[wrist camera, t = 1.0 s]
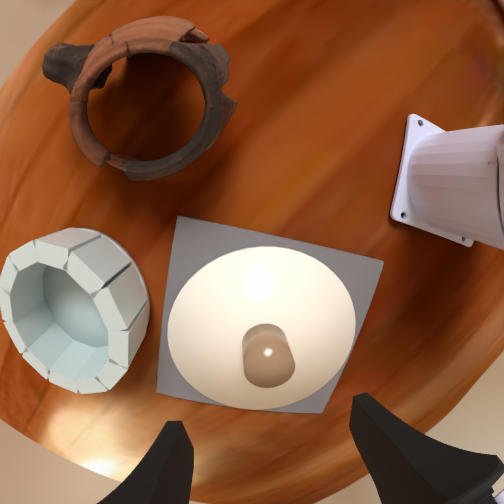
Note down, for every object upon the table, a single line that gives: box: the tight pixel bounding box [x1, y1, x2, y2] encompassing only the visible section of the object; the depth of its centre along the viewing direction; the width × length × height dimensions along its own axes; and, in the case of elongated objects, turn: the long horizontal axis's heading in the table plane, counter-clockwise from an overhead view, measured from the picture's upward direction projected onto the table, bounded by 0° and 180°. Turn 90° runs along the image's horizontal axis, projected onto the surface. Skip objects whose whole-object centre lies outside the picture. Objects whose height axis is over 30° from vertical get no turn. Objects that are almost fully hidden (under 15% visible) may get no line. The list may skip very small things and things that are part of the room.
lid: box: [167, 246, 356, 410], centre depth 17 cm, size 13×13×4 cm
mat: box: [157, 215, 384, 413], centre depth 19 cm, size 14×14×1 cm
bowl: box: [0, 228, 150, 394], centre depth 15 cm, size 10×10×5 cm
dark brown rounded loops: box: [42, 16, 238, 181], centre depth 13 cm, size 12×9×8 cm
